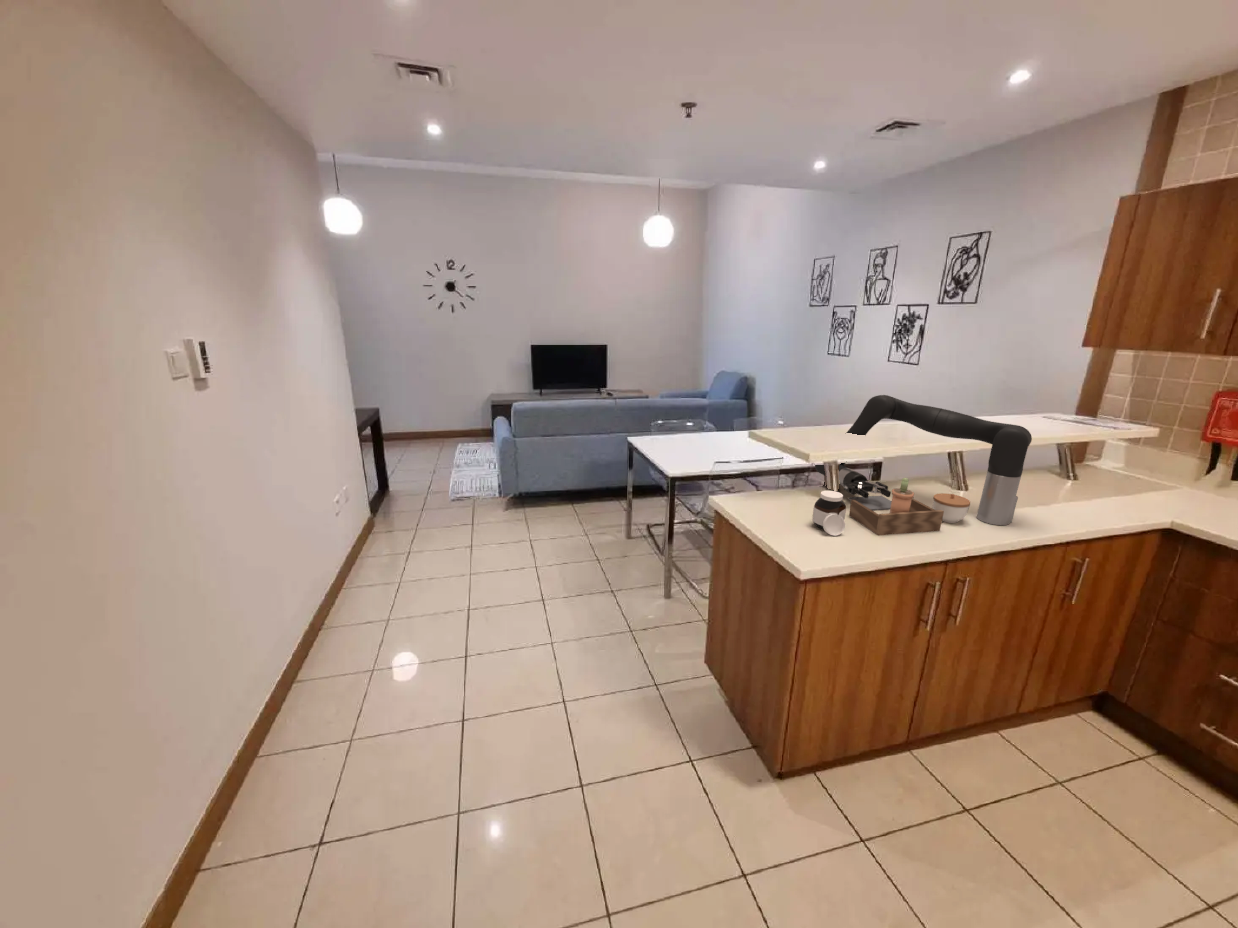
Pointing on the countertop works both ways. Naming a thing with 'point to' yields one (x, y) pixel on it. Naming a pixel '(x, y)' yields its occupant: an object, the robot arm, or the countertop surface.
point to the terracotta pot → (901, 498)
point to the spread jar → (830, 512)
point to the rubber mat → (874, 502)
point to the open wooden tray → (898, 519)
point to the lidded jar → (951, 506)
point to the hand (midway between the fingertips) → (878, 495)
